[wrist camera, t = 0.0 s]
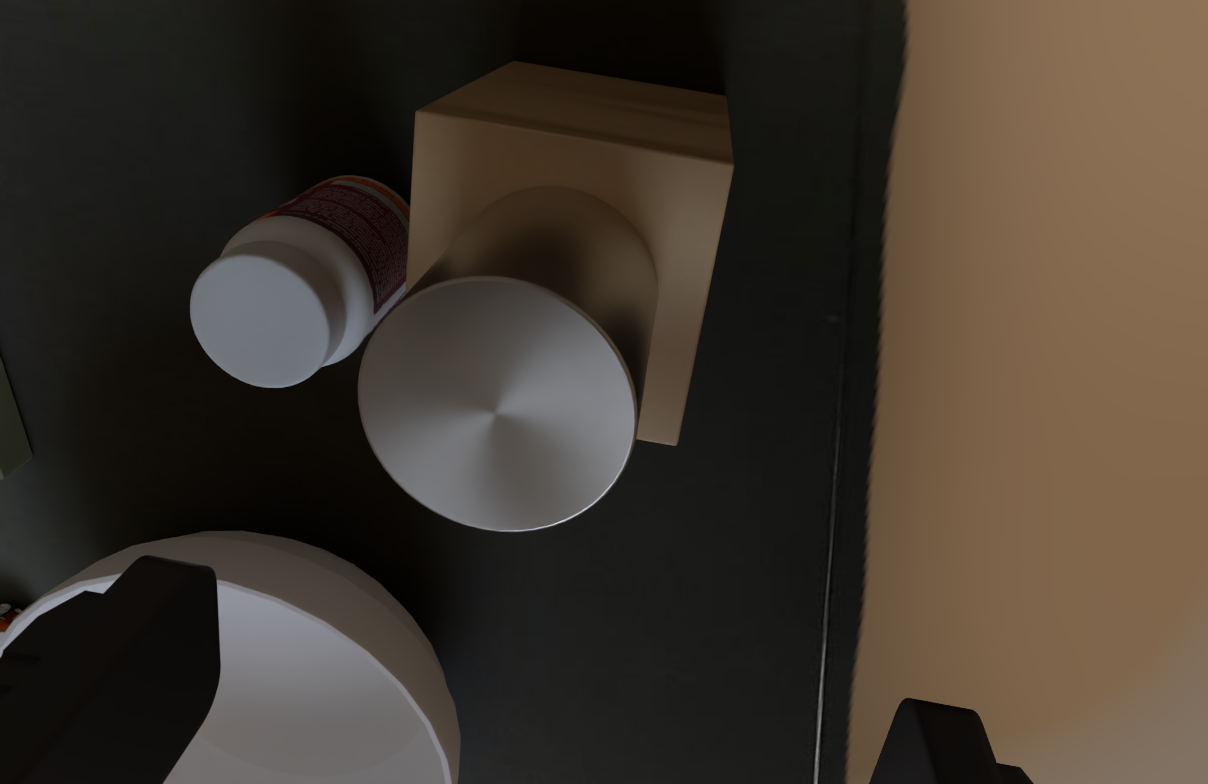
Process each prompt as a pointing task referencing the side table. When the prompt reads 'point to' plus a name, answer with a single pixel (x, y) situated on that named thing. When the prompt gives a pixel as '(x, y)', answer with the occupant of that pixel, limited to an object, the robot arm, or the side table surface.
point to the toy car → (7, 616)
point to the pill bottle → (304, 282)
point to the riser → (588, 186)
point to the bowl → (300, 668)
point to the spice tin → (516, 364)
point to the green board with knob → (11, 431)
